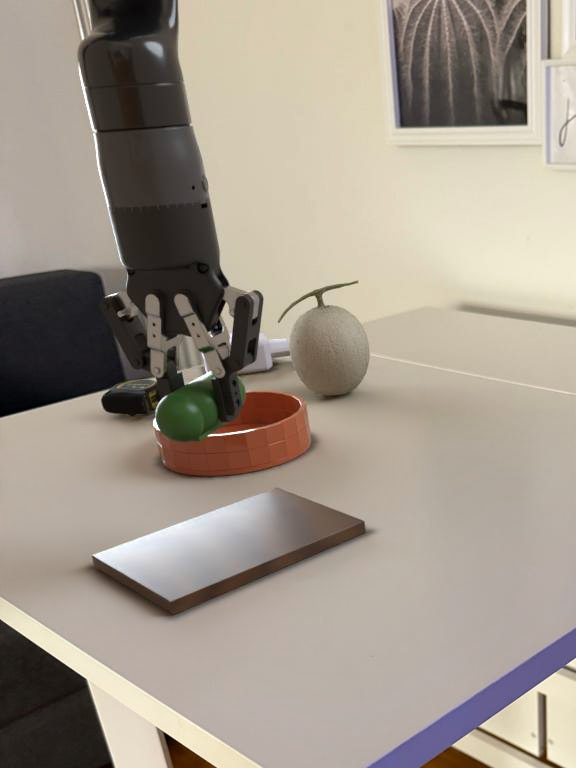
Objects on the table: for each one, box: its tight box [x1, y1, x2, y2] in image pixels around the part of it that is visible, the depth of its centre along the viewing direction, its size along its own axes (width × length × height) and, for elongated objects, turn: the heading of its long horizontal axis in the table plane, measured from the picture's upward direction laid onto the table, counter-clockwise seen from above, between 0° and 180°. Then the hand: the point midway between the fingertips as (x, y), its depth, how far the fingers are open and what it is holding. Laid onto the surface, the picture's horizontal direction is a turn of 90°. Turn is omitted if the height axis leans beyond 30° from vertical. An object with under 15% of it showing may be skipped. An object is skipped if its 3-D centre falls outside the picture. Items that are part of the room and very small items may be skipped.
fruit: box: [277, 279, 371, 397], centre depth 123 cm, size 10×12×15 cm
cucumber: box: [154, 371, 247, 443], centre depth 78 cm, size 11×4×4 cm, turn 166°
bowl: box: [152, 390, 312, 477], centre depth 108 cm, size 17×17×4 cm
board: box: [91, 487, 367, 615], centre depth 84 cm, size 20×14×1 cm
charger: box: [201, 331, 290, 376], centre depth 142 cm, size 5×9×15 cm
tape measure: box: [100, 378, 161, 418], centre depth 124 cm, size 7×7×4 cm
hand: (205, 418), depth 79 cm, fingers closed on cucumber, 4 cm apart
